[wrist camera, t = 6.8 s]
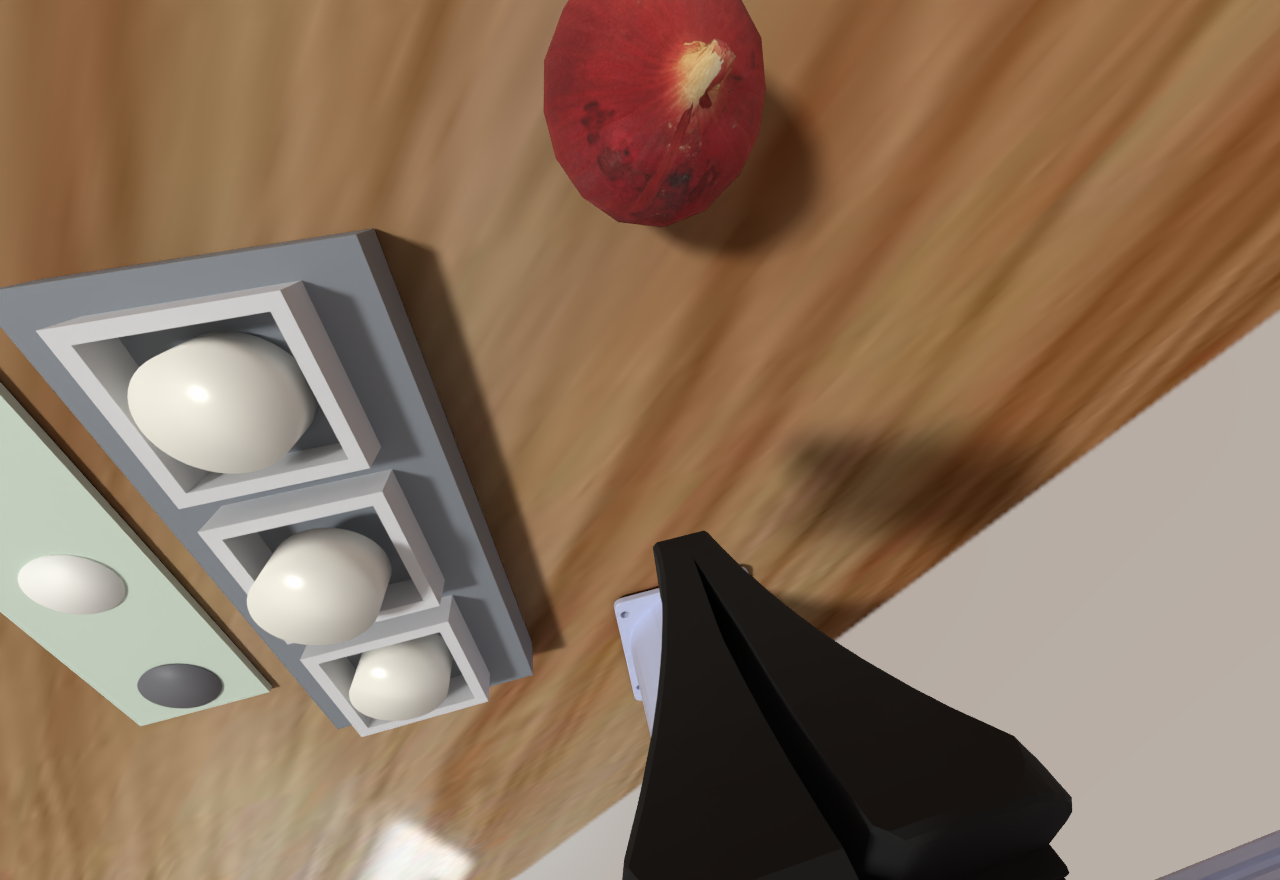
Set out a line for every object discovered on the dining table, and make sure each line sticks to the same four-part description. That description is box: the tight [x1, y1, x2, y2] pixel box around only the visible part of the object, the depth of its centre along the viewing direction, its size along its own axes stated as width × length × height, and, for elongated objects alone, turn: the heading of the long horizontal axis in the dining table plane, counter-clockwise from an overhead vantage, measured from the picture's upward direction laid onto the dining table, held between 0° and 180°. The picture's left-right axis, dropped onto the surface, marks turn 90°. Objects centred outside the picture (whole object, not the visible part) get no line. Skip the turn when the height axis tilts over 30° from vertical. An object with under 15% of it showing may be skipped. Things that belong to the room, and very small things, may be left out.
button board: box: [0, 228, 533, 737], centre depth 19 cm, size 22×10×4 cm, turn 7°
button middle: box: [247, 528, 392, 645], centre depth 17 cm, size 4×4×2 cm
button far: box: [349, 633, 453, 721], centre depth 22 cm, size 4×4×2 cm
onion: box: [544, 0, 766, 227], centre depth 12 cm, size 6×6×8 cm
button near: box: [127, 331, 318, 474], centre depth 14 cm, size 4×4×2 cm
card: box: [0, 382, 272, 726], centre depth 19 cm, size 18×6×1 cm, turn 7°
